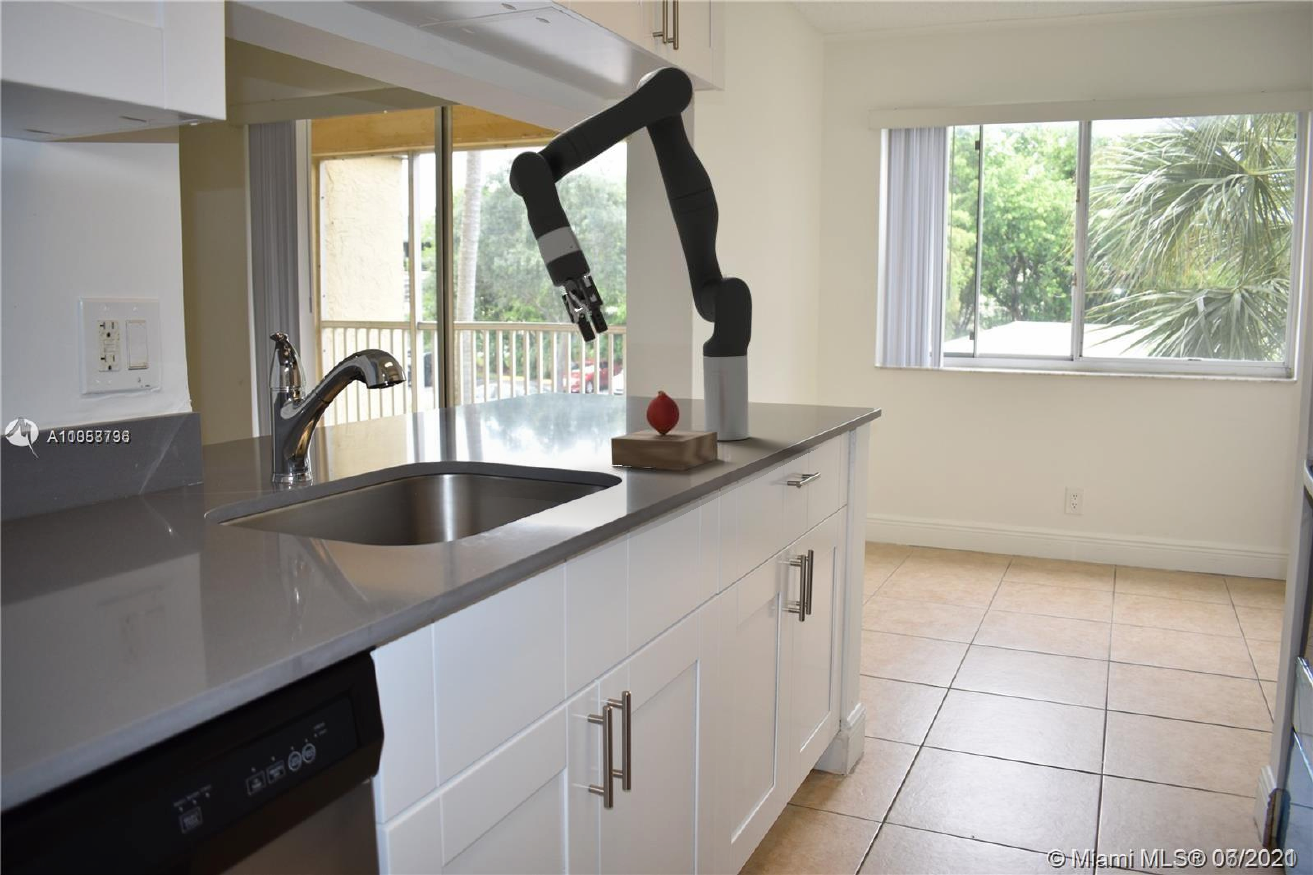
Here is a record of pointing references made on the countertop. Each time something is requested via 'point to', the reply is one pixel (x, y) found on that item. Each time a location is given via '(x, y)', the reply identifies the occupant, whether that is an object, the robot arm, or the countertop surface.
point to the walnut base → (665, 449)
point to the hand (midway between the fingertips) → (596, 336)
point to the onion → (663, 413)
